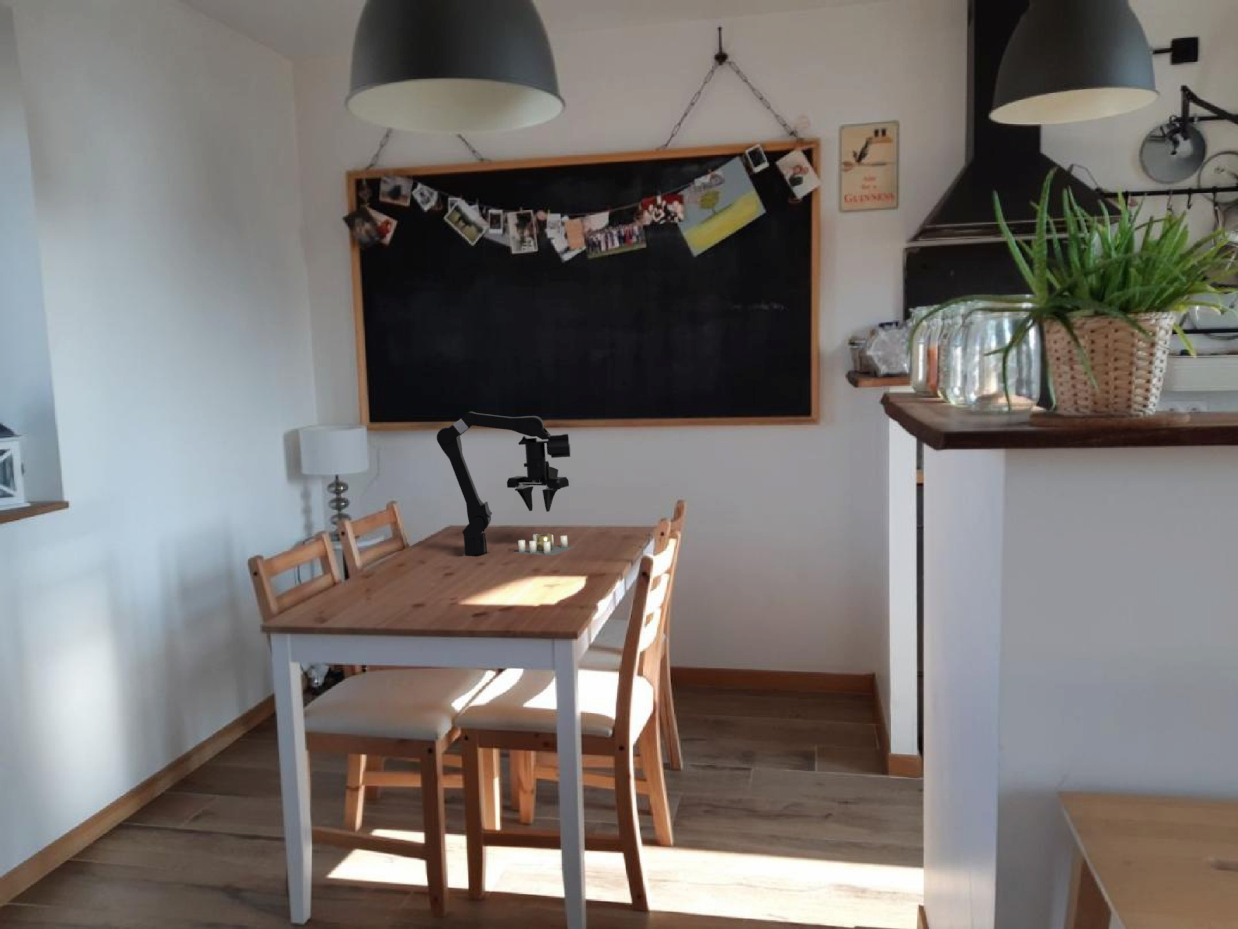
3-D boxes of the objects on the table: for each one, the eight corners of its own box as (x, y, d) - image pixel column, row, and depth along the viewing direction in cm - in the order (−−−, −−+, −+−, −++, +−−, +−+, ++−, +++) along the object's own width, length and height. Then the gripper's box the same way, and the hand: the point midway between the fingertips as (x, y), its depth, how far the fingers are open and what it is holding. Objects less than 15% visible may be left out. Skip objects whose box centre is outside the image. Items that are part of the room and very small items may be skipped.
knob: (546, 551, 279) (545, 536, 278) (534, 551, 281) (533, 535, 280) (555, 548, 282) (554, 533, 282) (542, 547, 285) (541, 532, 284)
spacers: (548, 554, 274) (547, 542, 274) (514, 552, 280) (514, 540, 280) (569, 547, 284) (568, 535, 283) (536, 545, 290) (535, 533, 290)
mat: (553, 556, 273) (553, 555, 273) (513, 554, 280) (513, 552, 280) (575, 548, 283) (575, 547, 283) (537, 545, 290) (537, 544, 290)
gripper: (577, 455, 281) (580, 507, 283) (525, 455, 291) (529, 505, 292) (556, 460, 272) (559, 514, 274) (504, 460, 281) (507, 512, 283)
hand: (539, 511), depth 281 cm, fingers open, 6 cm apart
